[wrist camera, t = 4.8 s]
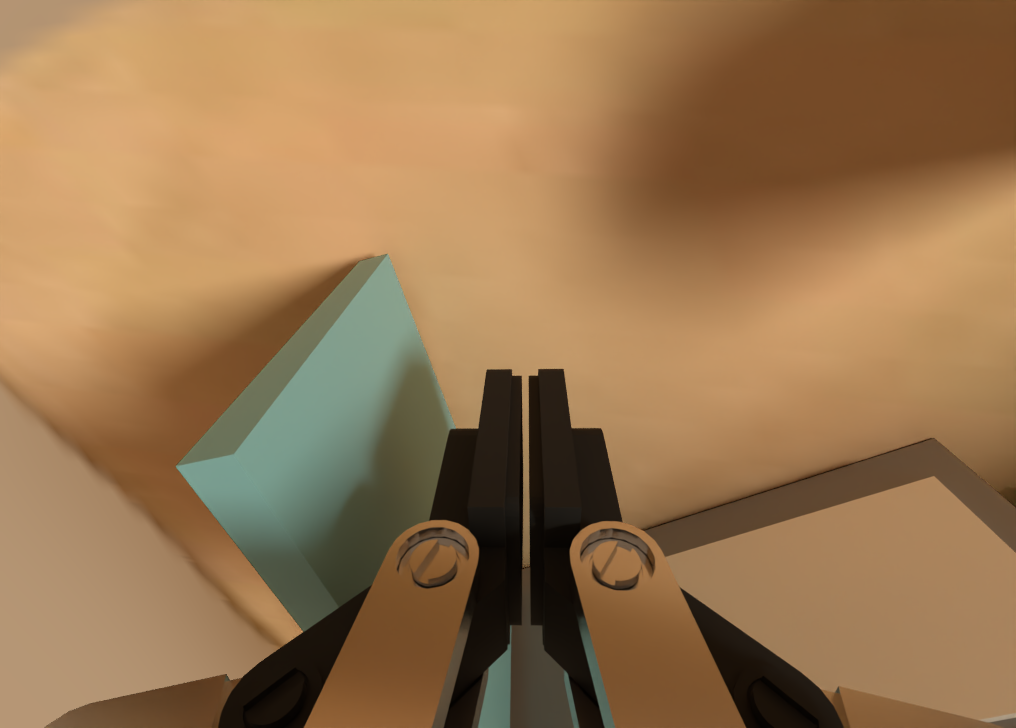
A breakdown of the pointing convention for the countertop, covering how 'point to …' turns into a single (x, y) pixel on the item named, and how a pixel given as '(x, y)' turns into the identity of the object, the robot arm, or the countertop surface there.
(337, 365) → the side door
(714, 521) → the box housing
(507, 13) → the countertop surface
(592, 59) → the countertop surface
